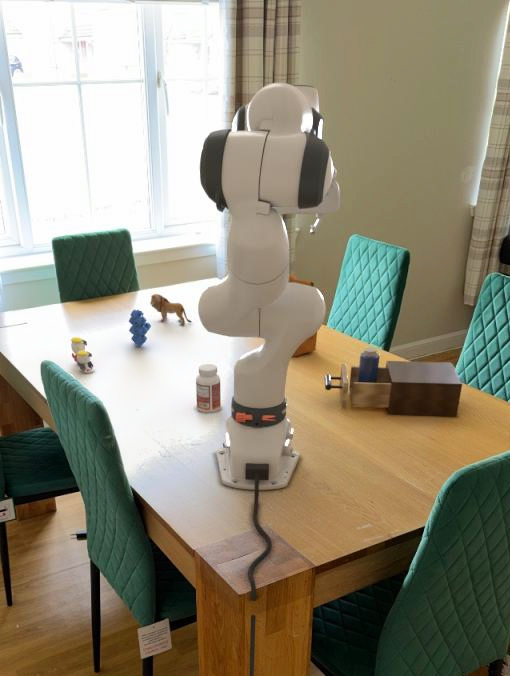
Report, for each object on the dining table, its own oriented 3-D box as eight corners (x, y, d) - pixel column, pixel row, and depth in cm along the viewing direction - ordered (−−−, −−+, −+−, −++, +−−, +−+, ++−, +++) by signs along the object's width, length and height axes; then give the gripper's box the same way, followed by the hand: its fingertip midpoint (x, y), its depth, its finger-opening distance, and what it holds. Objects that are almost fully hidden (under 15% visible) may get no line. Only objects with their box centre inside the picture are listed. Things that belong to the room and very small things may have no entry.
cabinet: (388, 414, 187) (392, 381, 182) (382, 392, 199) (386, 360, 195) (456, 417, 185) (462, 384, 180) (446, 394, 198) (452, 362, 193)
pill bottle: (217, 402, 195) (216, 361, 189) (223, 411, 190) (223, 370, 184) (194, 404, 193) (193, 364, 188) (199, 414, 188) (199, 372, 183)
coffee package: (299, 341, 235) (303, 270, 223) (320, 353, 225) (325, 280, 214) (271, 346, 231) (274, 274, 220) (291, 358, 222) (295, 284, 210)
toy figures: (95, 373, 213) (92, 345, 209) (80, 375, 212) (77, 347, 208) (84, 359, 223) (81, 332, 218) (70, 362, 221) (67, 334, 217)
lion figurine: (148, 321, 254) (147, 295, 249) (155, 317, 258) (153, 291, 253) (188, 326, 249) (188, 299, 245) (194, 321, 254) (193, 295, 249)
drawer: (324, 408, 188) (326, 382, 185) (323, 387, 200) (324, 363, 196) (404, 410, 186) (407, 385, 183) (398, 390, 198) (401, 365, 194)
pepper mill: (375, 398, 190) (381, 353, 184) (356, 398, 191) (361, 352, 184) (374, 391, 194) (379, 346, 188) (355, 391, 195) (360, 346, 188)
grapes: (158, 350, 230) (157, 311, 223) (138, 353, 227) (135, 314, 221) (145, 338, 239) (143, 301, 232) (126, 341, 236) (123, 304, 230)
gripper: (250, 171, 162) (249, 237, 169) (343, 170, 162) (338, 236, 169) (249, 167, 167) (248, 231, 175) (339, 166, 167) (335, 230, 174)
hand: (293, 234), depth 172 cm, fingers open, 8 cm apart
